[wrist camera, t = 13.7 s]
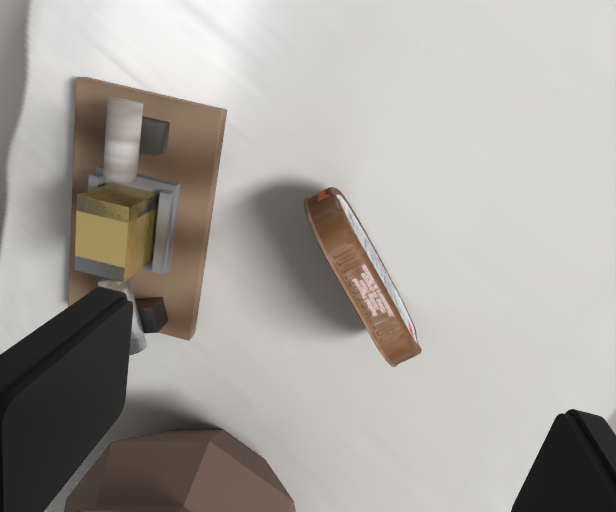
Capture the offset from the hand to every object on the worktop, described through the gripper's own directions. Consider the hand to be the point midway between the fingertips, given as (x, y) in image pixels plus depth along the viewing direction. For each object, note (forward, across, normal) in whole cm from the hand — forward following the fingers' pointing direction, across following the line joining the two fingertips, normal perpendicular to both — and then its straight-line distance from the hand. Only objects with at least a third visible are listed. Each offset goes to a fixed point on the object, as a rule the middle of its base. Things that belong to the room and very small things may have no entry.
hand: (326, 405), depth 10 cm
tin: (+31, -2, +7) cm, 31 cm away
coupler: (+28, +18, +8) cm, 34 cm away
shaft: (+29, +17, +15) cm, 37 cm away
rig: (+30, +18, +8) cm, 36 cm away
